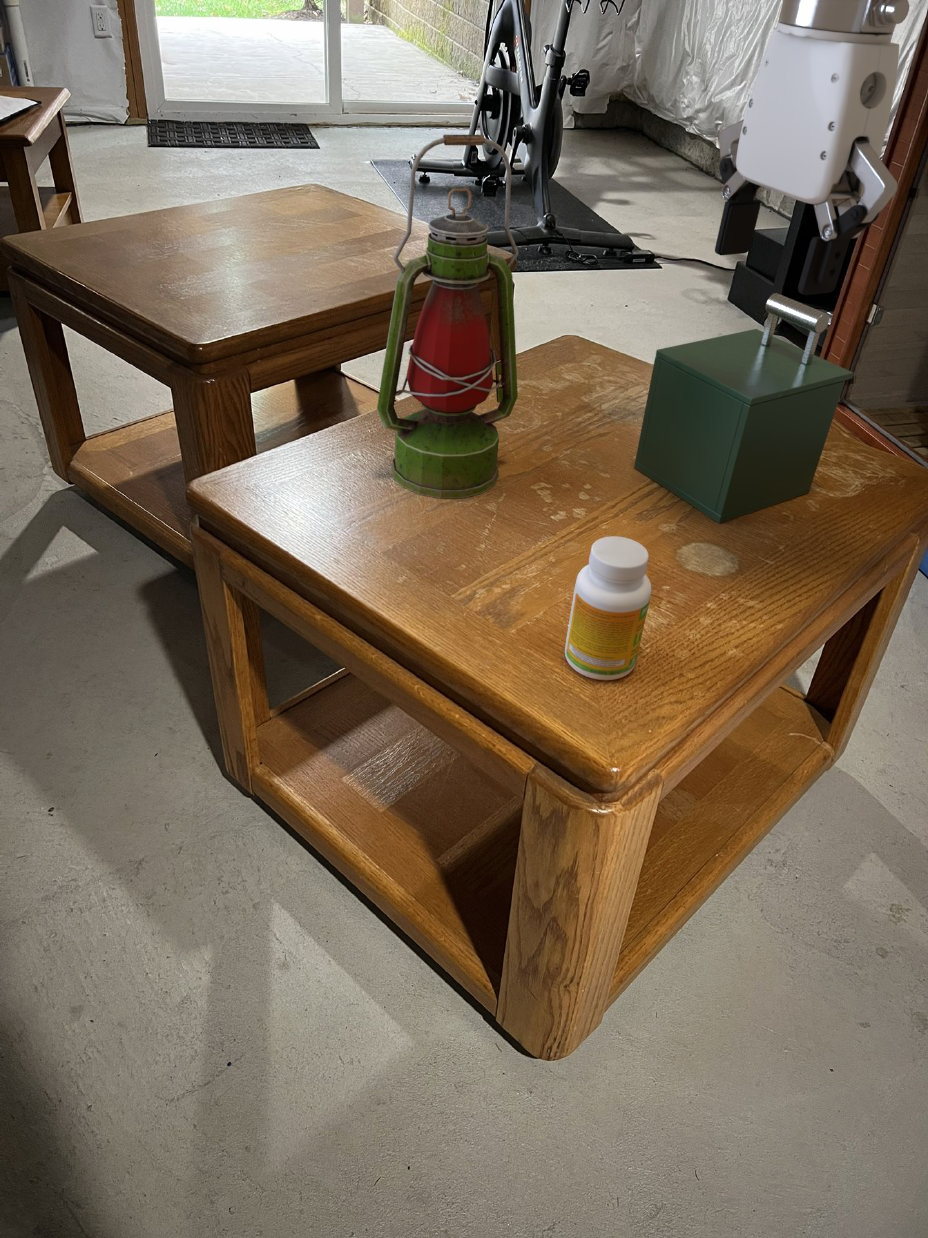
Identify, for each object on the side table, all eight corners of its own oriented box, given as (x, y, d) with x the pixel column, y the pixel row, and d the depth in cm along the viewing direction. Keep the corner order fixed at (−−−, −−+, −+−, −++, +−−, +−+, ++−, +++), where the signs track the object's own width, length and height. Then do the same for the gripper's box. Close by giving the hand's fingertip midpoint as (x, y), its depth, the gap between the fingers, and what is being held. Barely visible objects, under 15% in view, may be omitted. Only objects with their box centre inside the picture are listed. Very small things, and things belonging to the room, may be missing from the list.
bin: (721, 442, 101) (748, 336, 94) (809, 492, 93) (845, 380, 86) (633, 467, 95) (655, 356, 88) (719, 523, 87) (750, 406, 80)
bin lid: (754, 334, 94) (768, 279, 91) (852, 378, 86) (871, 320, 83) (655, 355, 88) (666, 298, 85) (750, 405, 80) (766, 344, 77)
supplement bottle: (639, 685, 68) (664, 576, 62) (565, 679, 68) (583, 570, 62) (631, 639, 72) (654, 533, 66) (562, 634, 72) (579, 527, 66)
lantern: (492, 440, 98) (520, 121, 80) (530, 490, 90) (570, 148, 72) (363, 453, 94) (361, 120, 76) (390, 506, 86) (396, 148, 68)
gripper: (984, 29, 58) (890, 304, 68) (792, -2, 70) (737, 236, 80) (897, 26, 55) (813, 315, 65) (713, -5, 67) (666, 243, 77)
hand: (771, 271), depth 73 cm, fingers open, 9 cm apart
